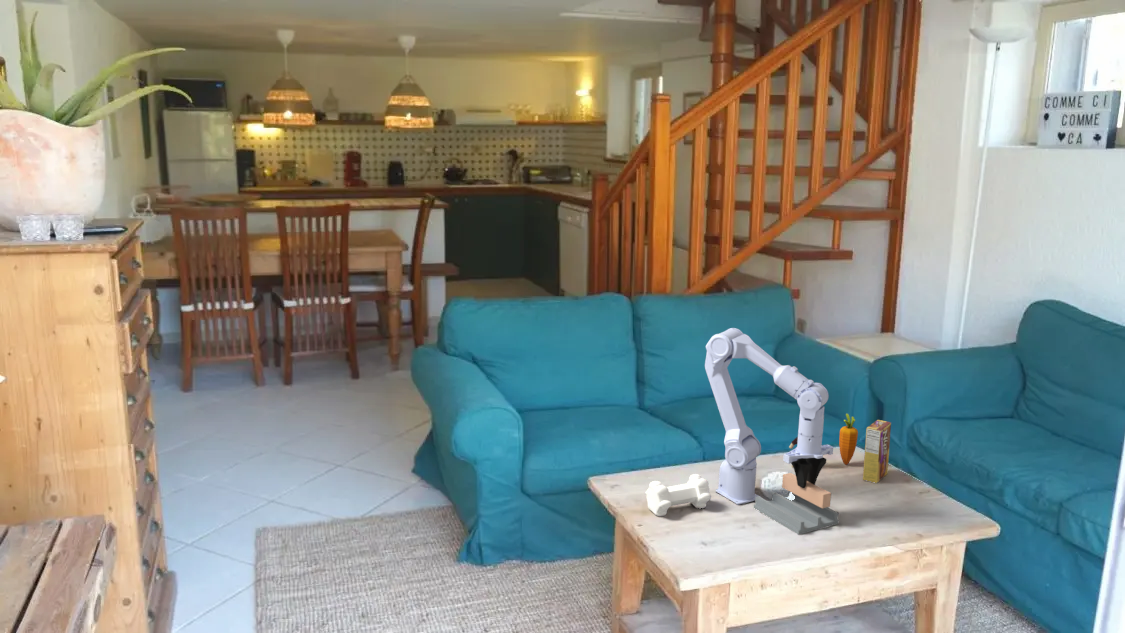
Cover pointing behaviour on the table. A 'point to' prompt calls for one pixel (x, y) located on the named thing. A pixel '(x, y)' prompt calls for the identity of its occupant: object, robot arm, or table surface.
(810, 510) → the rack
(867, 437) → the candy box
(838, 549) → the table surface
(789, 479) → the clay strip
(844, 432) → the carrot
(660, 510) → the white bone
